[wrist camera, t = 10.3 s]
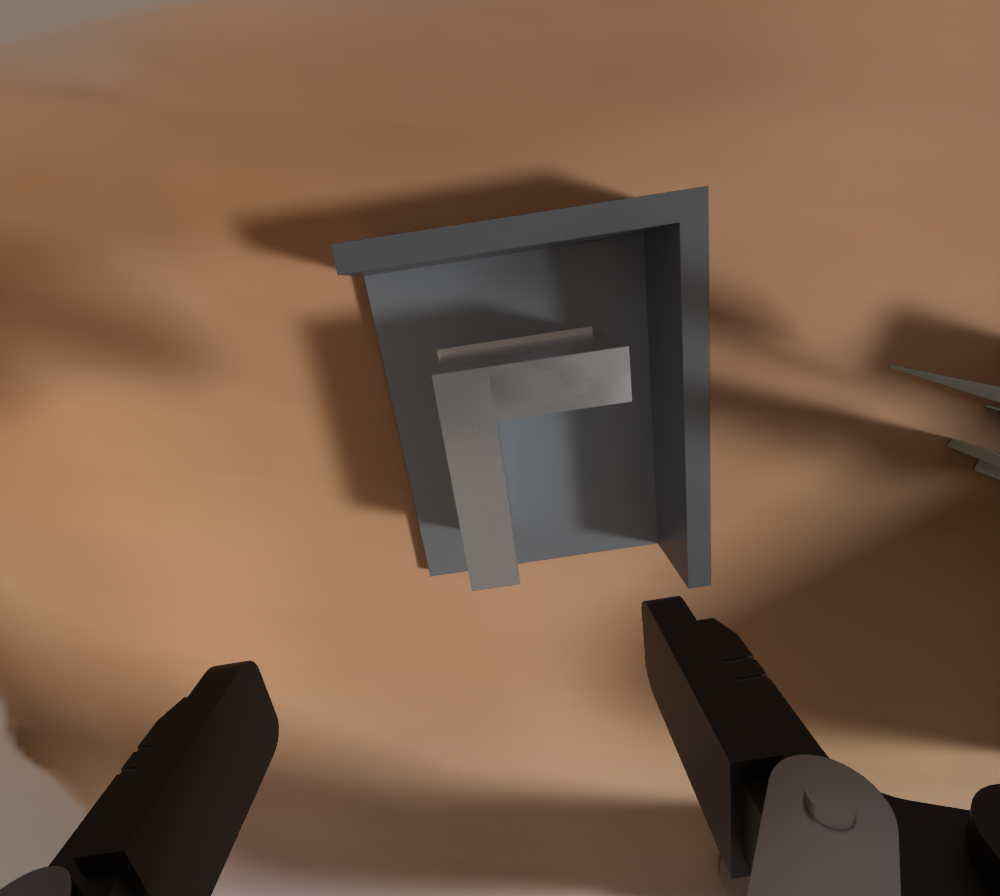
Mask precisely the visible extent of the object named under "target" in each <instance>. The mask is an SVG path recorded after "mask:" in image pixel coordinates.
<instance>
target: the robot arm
mask: <svg viewBox="0 0 1000 896" xmlns="http://www.w3.org/2000/svg"><path fill="white" fill-rule="evenodd" d="M642 621H643V634H644V648H645V661H646V668H647V673H648V678H649V682H650V685H651V689H652V692H653V695H654V697H655V700H656V702H657V704H658V707H659V709H660V711H661V714H662V716H663V718H664V721H665V723H666V726H667V728H668V730H669V733H670V735H671V737H672V740H673V742H674V744H675V747H676V749H677V752H678V754H679V756H680V759H681V761H682V763H683V766H684V768H685V771H686V773H687V775H688V778H689V780H690V782H691V785H692V787H693V789H694V792H695V794H696V797H697V799H698V801H699V804H700V806H701V808H702V811H703V813H704V815H705V818H706V820H707V823H708V825H709V827H710V830H711V832H712V834H713V837H714V839H715V842H716V844H717V846H718V849H719V851H720V853H721V856H722V857H721V861H720V875H721V878H722V881H723V883H724V886H725V888H726V891H727V893H728V896H1000V784H995V785H989V786H987V787H984V788H982V789H981V790H979V791H978V792H977V793H976V794H975V796H974V798H973V799H972V804H971V809H970V810H964V809H958V808H952V807H945V806H939V805H933V804H927V803H921V802H915V801H909V800H904V799H900V798H896V797H892V796H889V795H886V794H883V793H881V792H880V791H879V790H878V789H877V788H876V787H875V786H874V785H873V784H872V783H871V782H869V781H868V780H867V779H866V778H865V777H864V776H862V775H861V774H859V773H858V772H856V771H855V770H853V769H851V768H850V767H848V766H846V765H844V764H842V763H840V762H837V761H835V760H832V759H830V758H829V757H828V756H827V755H826V754H825V752H824V751H823V750H822V749H821V747H820V746H819V744H818V743H817V742H816V740H815V739H814V738H813V736H812V735H811V734H810V732H809V731H808V730H807V728H806V727H805V726H804V724H803V723H802V721H801V720H800V719H799V717H798V716H797V715H796V713H795V712H794V711H793V709H792V708H791V707H790V705H789V704H788V702H787V701H786V700H785V698H784V697H783V696H782V694H781V693H780V692H779V690H778V689H777V688H776V686H775V685H774V683H773V682H772V681H771V679H770V678H767V676H766V673H765V671H764V670H763V669H762V667H761V666H760V665H759V663H758V662H757V660H754V658H753V655H752V654H751V652H750V651H749V650H748V648H747V647H746V646H745V644H744V643H743V641H742V640H741V639H740V637H739V636H738V635H737V634H736V633H735V632H733V631H732V630H730V629H729V628H727V627H726V626H724V625H723V624H721V623H720V622H718V621H717V620H716V619H714V618H711V619H705V620H698V621H697V620H696V618H695V617H694V615H693V614H692V612H691V611H690V609H689V608H688V606H687V605H686V603H685V601H684V600H683V599H682V598H681V597H680V596H676V597H669V598H663V599H656V600H650V601H643V603H642ZM278 735H279V725H278V718H277V715H276V713H275V710H274V707H273V705H272V702H271V699H270V697H269V694H268V692H267V689H266V686H265V684H264V681H263V679H262V676H261V673H260V671H259V668H258V666H257V665H256V664H255V663H254V662H253V661H245V662H238V663H232V664H225V665H219V666H213V667H211V668H210V669H208V670H207V671H206V673H205V674H204V675H203V677H202V678H201V679H200V681H199V682H198V684H197V685H196V686H195V688H194V689H193V691H192V692H191V693H190V695H189V696H188V697H185V698H183V699H182V700H181V701H179V702H178V703H177V704H176V705H175V706H174V707H173V708H171V709H170V710H169V711H168V712H167V713H166V714H165V715H164V716H162V717H161V718H160V719H159V720H158V721H157V722H156V723H155V725H154V726H153V727H152V729H151V730H150V731H149V733H148V734H147V735H146V737H145V738H144V739H143V741H142V742H141V743H140V745H139V746H138V751H137V752H134V753H133V754H132V755H131V757H130V758H129V759H128V761H127V762H126V763H125V765H124V766H123V767H122V769H121V770H122V771H121V774H119V775H116V777H115V778H114V779H113V781H112V782H111V783H110V785H109V786H108V787H107V789H106V790H105V791H104V793H103V794H102V795H101V797H100V798H99V799H98V801H97V802H96V803H95V805H94V806H93V807H92V809H91V810H90V812H89V813H88V814H87V816H86V817H85V818H84V820H83V821H82V822H81V824H80V825H79V826H78V828H77V829H76V830H75V832H74V833H73V834H72V836H71V837H70V838H69V840H68V841H67V842H66V844H65V845H64V846H63V848H62V849H61V850H60V852H59V853H58V854H57V856H56V857H55V858H54V860H53V861H52V862H51V864H50V865H49V866H48V867H43V868H40V869H37V870H34V871H32V872H29V873H27V874H25V875H23V876H21V877H19V878H18V879H16V880H14V881H12V882H11V883H9V884H8V885H6V886H5V887H3V888H2V889H0V896H211V894H212V892H213V890H214V887H215V885H216V883H217V881H218V878H219V876H220V874H221V872H222V869H223V867H224V865H225V863H226V860H227V858H228V856H229V854H230V851H231V849H232V847H233V845H234V842H235V840H236V838H237V836H238V833H239V831H240V829H241V827H242V824H243V822H244V820H245V818H246V815H247V813H248V811H249V809H250V806H251V804H252V802H253V800H254V797H255V795H256V793H257V791H258V789H259V786H260V784H261V782H262V780H263V777H264V775H265V773H266V771H267V768H268V766H269V764H270V762H271V759H272V757H273V755H274V752H275V750H276V746H277V742H278Z"/></svg>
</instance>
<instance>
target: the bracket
mask: <svg viewBox="0 0 1000 896" xmlns="http://www.w3.org/2000/svg"><path fill="white" fill-rule="evenodd" d="M890 368H893V369H896V370H899V371H902V372H905V373H909V374H912V375H915V376H918V377H921V378H924V379H927V380H930V381H934V382H937V383H940V384H943V385H946V386H949V387H952V388H955V389H959V390H962V391H965V392H968V393H971V394H974V395H977V396H980V397H984V398H987V399H990V400H993V401H996V402H999V403H1000V387H999V386H994V385H989V384H984V383H979V382H974V381H969V380H964V379H959V378H954V377H949V376H944V375H940V374H935V373H930V372H925V371H920V370H915V369H910V368H905V367H900V366H895V365H891V367H890ZM985 407H987V408H990V409H993V410H997V411H1000V408H997V407H993V406H989V405H986V406H985ZM947 447H950V448H953V449H955V450H958V451H960V452H963V453H965V454H968V455H970V456H973V457H975V458H978V459H979V461H978V463H977V464H976V466H975V470H976V471H978V472H980V473H983V474H985V475H988V476H991V477H993V478H996V479H999V480H1000V453H997V452H994V451H991V450H988V449H985V448H981V447H978V446H975V445H971V444H968V443H965V442H962V441H958V440H955V439H951V441H950V442H949V444H948V446H947Z"/></svg>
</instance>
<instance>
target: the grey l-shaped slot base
mask: <svg viewBox="0 0 1000 896" xmlns="http://www.w3.org/2000/svg"><path fill="white" fill-rule="evenodd" d="M331 248H332V252H333V256H334V261H335V265H336V269H337V273H338V275H349V276H364V279H365V284H366V288H367V293H368V297H369V302H370V306H371V311H372V315H373V320H374V324H375V329H376V333H377V338H378V342H379V347H380V351H381V356H382V360H383V365H384V369H385V374H386V378H387V383H388V387H389V392H390V396H391V401H392V405H393V410H394V414H395V419H396V423H397V428H398V432H399V437H400V441H401V446H402V450H403V455H404V460H405V464H406V469H407V473H408V478H409V482H410V487H411V491H412V496H413V500H414V505H415V509H416V514H417V518H418V523H419V527H420V532H421V536H422V541H423V545H424V550H425V554H426V559H427V563H428V568H429V572H430V576H436V575H443V574H450V573H457V572H464V571H468V567H467V562H466V557H465V551H464V546H463V541H462V535H461V530H460V525H459V519H458V514H457V509H456V503H455V498H454V493H453V487H452V482H451V477H450V471H449V466H448V461H447V455H446V450H445V445H444V439H443V434H442V429H441V423H440V418H439V413H438V408H437V402H436V397H435V392H434V386H433V381H432V376H431V375H432V373H433V371H434V370H435V368H436V366H437V364H438V362H439V360H440V358H441V356H442V355H447V354H453V353H460V352H467V351H474V350H481V349H487V348H494V347H501V346H508V345H514V344H521V343H528V342H535V341H541V340H548V339H555V338H562V337H568V336H575V335H582V334H589V333H595V332H598V333H600V334H602V335H605V336H607V337H609V338H611V339H614V340H616V341H618V342H621V343H623V344H625V345H628V346H629V355H630V373H631V391H632V401H631V402H625V403H618V404H611V405H604V406H597V407H590V408H584V409H577V410H570V411H563V412H556V413H549V414H542V415H536V416H529V417H522V418H515V419H508V420H501V421H497V424H498V431H499V437H500V444H501V451H502V457H503V464H504V471H505V478H506V484H507V491H508V498H509V505H510V511H511V518H512V525H513V532H514V540H515V548H516V555H517V563H525V562H532V561H539V560H546V559H552V558H559V557H566V556H573V555H580V554H587V553H593V552H600V551H607V550H614V549H621V548H628V547H635V546H641V545H648V544H655V543H658V544H659V546H660V547H661V549H662V550H663V551H664V553H665V554H666V556H667V557H668V559H669V560H670V562H671V563H672V565H673V566H674V568H675V569H676V571H677V572H678V574H679V575H680V577H681V578H682V580H683V581H684V583H685V584H686V586H687V587H688V588H695V587H702V586H709V585H711V531H710V377H709V224H708V186H704V187H698V188H691V189H685V190H678V191H672V192H666V193H659V194H653V195H646V196H640V197H633V198H627V199H620V200H614V201H607V202H601V203H594V204H588V205H582V206H575V207H569V208H562V209H556V210H549V211H543V212H536V213H530V214H523V215H517V216H511V217H504V218H498V219H491V220H485V221H478V222H472V223H465V224H459V225H452V226H446V227H439V228H433V229H427V230H420V231H414V232H407V233H401V234H394V235H388V236H381V237H375V238H368V239H362V240H355V241H349V242H343V243H336V244H331Z"/></svg>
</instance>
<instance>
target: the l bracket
mask: <svg viewBox="0 0 1000 896" xmlns="http://www.w3.org/2000/svg"><path fill="white" fill-rule="evenodd" d="M431 376H432V381H433V386H434V392H435V397H436V402H437V408H438V413H439V418H440V423H441V429H442V434H443V439H444V445H445V450H446V455H447V461H448V466H449V471H450V477H451V482H452V487H453V493H454V498H455V503H456V509H457V514H458V519H459V525H460V530H461V535H462V541H463V546H464V551H465V557H466V562H467V567H468V573H469V578H470V583H471V589H472V591H476V590H483V589H490V588H497V587H504V586H511V585H518V584H520V579H519V571H518V563H517V555H516V548H515V540H514V532H513V525H512V518H511V511H510V505H509V498H508V491H507V484H506V478H505V471H504V464H503V457H502V451H501V444H500V437H499V431H498V424H497V421H501V420H508V419H515V418H522V417H529V416H536V415H542V414H549V413H556V412H563V411H570V410H577V409H584V408H590V407H597V406H604V405H611V404H618V403H625V402H631V401H632V391H631V373H630V355H629V346H628V345H625V344H623V343H621V342H618V341H616V340H614V339H611V338H609V337H607V336H605V335H602V334H600V333H598V332H595V333H589V334H582V335H575V336H568V337H562V338H555V339H548V340H541V341H535V342H528V343H521V344H514V345H508V346H501V347H494V348H487V349H481V350H474V351H467V352H460V353H453V354H447V355H442V356H441V358H440V360H439V362H438V364H437V366H436V368H435V370H434V371H433V373H432V375H431Z"/></svg>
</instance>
